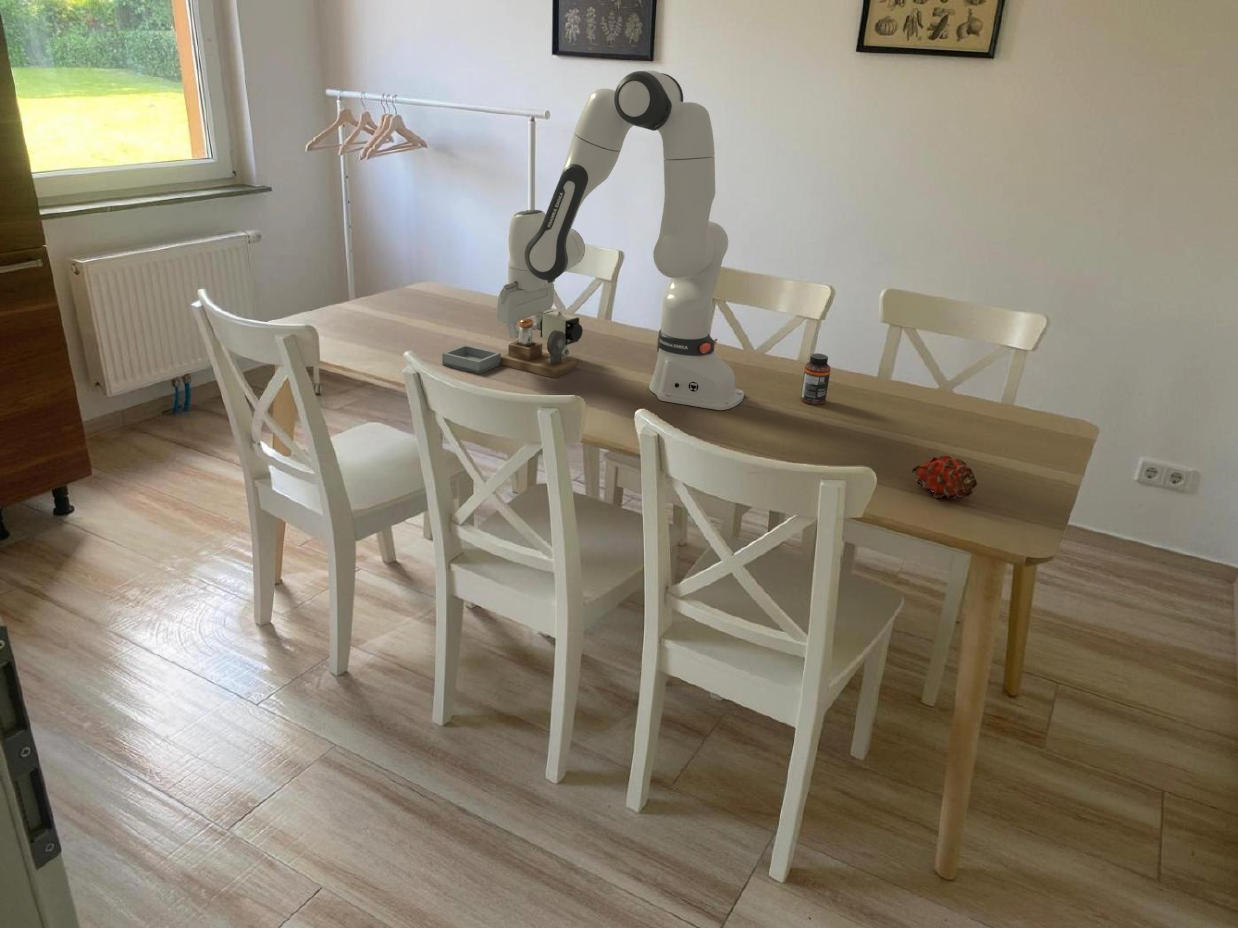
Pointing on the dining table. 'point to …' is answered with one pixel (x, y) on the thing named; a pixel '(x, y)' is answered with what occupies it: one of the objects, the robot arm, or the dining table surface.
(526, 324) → the lock pin
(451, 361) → the parts tray
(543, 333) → the pneumatic valve
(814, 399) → the supplement bottle
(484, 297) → the dining table surface
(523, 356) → the wooden desk organizer
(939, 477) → the dragon fruit
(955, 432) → the dining table surface
